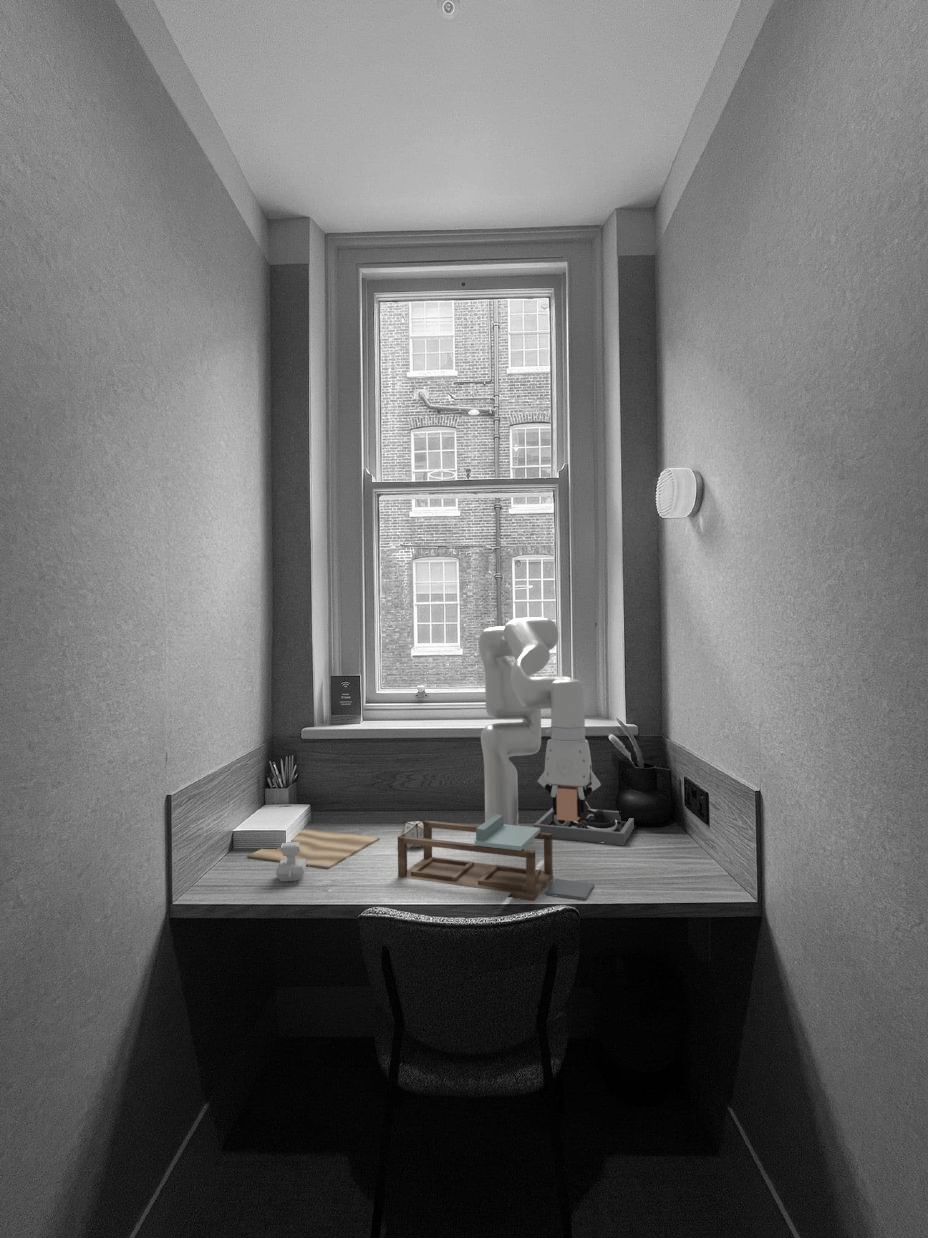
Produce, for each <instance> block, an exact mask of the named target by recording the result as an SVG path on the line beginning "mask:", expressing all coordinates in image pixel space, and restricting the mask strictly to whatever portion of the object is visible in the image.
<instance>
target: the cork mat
mask: <svg viewBox="0 0 928 1238" xmlns="http://www.w3.org/2000/svg"><path fill="white" fill-rule="evenodd" d="M299 831H300V832H299ZM299 831H298V832H299V833H298V835H296V836H295V837H294V838H293V839H292V840H291V842H300V852H299V853H298V855H296V859H306V861H307V865H309V866H308V867H311V866H313V867H312V868H318V867H320V868H319V869H325V868H329V869H331V868H332V867H334V866H336V865H338V864H340V863H341V862H343V861H345V860H347V859H348V858H350V857H352V856H353V855H355V854H357V853H358V851H359V850H360V851H362V850H364V849H365V847H366V848H367V847H369V846H371V845H372V844H374V843H376V842H377V841H380V840H381V839H380V837H377V836H369V835H360V834H352V833H351V834H350V833H343V832H336V831H326V830H317V829H309V828H304V829H302V830H299ZM368 845H369V846H368ZM361 849H362V850H361ZM360 851H359V852H360ZM356 852H357V853H356ZM354 853H355V854H354ZM351 855H352V856H351ZM349 856H350V857H349ZM347 857H348V858H347ZM246 858H247V859H255V860H261V861H268V860H269V862H274V863H275V862H277V863H280V861H281V860H286V859H287V856H283V853H281V848H277V849H263V848H260V849H259V850H257V851H254V852H252V853H251V854H250V853H249V854H247V855H246ZM346 858H347V859H346ZM339 862H340V863H339ZM337 863H338V864H337Z"/></svg>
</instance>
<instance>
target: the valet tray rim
mask: <svg viewBox="0 0 928 1238" xmlns="http://www.w3.org/2000/svg"><path fill="white" fill-rule="evenodd" d="M590 809H591V810H595V811H597V810H598V809H596V808H595V809H594V808H590ZM590 809H589V808H588V810H590ZM602 810H603V811H604V812H605V813H607V814H610V815H612V816H614V817H615V818H616V819H618V820H620V821H621V816H620V814H619V810H607V809H602ZM553 812H554V810H553V806H552V807H551V808H550V809H549V810H548V811H547V812H546V813H545V814H544V815H543V816H541V817H540V818H539V819H538V820H537V821H536V822H535V823H534V824H533V827H536V828H540V832H544V833H552V839H558V840H559V839H560V840H566V841H567V840H569V841H576V840H578V842H588V843H595V842H604V843H610V844H609V845H614V844H623V845H624V844H626V843H627V841H628V840H627V839H629V838H630V836H631V835H632V833H633V831H634V830H635V828H634V818H629V819H628V821H627V822H626V824H625V825H624V827H622V829H621V830H620V831H615V830H614V831H604V830H594V829H584V828H574V827H564V826H555V825H554V824H552V823H553V822H552V821H553V820H552V814H553ZM588 815H594V812H592V813H591V812H588ZM588 815H587V816H588ZM587 819H588V820H587V821H591V820H595V818H594V816H589V817H588V818H587ZM551 822H552V823H551ZM617 822H619V821H617ZM549 824H550V825H549ZM633 829H634V830H633ZM632 830H633V831H632ZM631 832H632V833H631ZM630 834H631V835H630ZM629 835H630V836H629ZM628 837H629V838H628ZM626 840H627V841H626ZM625 842H626V843H625ZM604 843H603V844H604ZM623 845H622V846H623ZM624 846H625V845H624Z"/></svg>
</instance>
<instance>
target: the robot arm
mask: <svg viewBox="0 0 928 1238" xmlns="http://www.w3.org/2000/svg"><path fill="white" fill-rule="evenodd" d="M558 641H559V630H558V626H557V625H556V623H555V622H554V621H553V620H552V619H550V618H548V617H517V618H514V619H511V620H509V621H508V622H507V623H506V624H505V625H503V626H502V625H500V626H491V627H488V628H485V629H483V630H482V631H481V633H480V635H479V641H478V649H479V653H480V654H479V655H480V656H481V657H480V658H481V660H482V661H481V662H482V663H483V664H482V665H483V668H484V682H485V683H484V685H485V686H484V689H485V690H484V691H485V696H484V697H485V710H486V713H487V715H488V716H489V717H490V718H493V719H518V718H520V719H522V721H518V722H497V723H491V724H488V725H486V726H485V727H484V728H483V729H482V730H481V733H480V744H481V749H482V750H481V751H482V754H483V755H482V758H483V768H484V771H483V772H484V823H485V822H486V821H487V820H489V819H490V818H491V817H493V816H494V815H495V814H497V815H503V824H506V825H516V826H519V817H520V815H519V797H518V796H519V791H518V790H519V788H518V787H519V785H518V784H519V781H518V775H519V774H518V771H517V768H516V766H515V765H514V764H513V762H512V761H511V760H510V759H509V758H510V757H517V756H531V755H535V754H537V753H538V752H539V751H540V748H541V745H542V710H543V709H550V721H551V723H550V727H545V731H544V732H545V734H546V735H549V736H550V739H548V740H547V742H546V748H545V757H544V770H543V773H541V775H540V776H539V778H538V779H537V783H539V784H540V785H541V786H542V787H543V788H545V790H546V791H547V792H548V793H549V794H550V796H551V798H552V807H553V810H555V815H557V793H556V788H557V787H559V786H573V787H577V790H578V794H579V799H578V800H577V816H578V817H581V816H582V815H583V813H585V811H586V806H587V804H586V802H587V801H586V800H587V799H586V798H587V797H588V796H589V795H590V794H591V793H592V792H593V791H595V790H598V788H599V787H601V785H602V784H601V782H600V780H599V779H598V778H597V776H596V775H595V773H594V771H593V767H592V766H593V765H592V757H591V751H590V744H589V741H588V740H587V739H586V728H585V726H586V725H585V724H586V723H585V722H586V721H585V719H586V718H585V711H586V710H585V684H584V682H583V681H582V680H580V679H574V678H572V677H569V676H566V675H565V676H564V675H563V676H562V675H561V676H560V675H559V676H551V675H550V676H533V675H534V674H536V673H538V672H540V671H542V670H543V669H544V668H545V667H546V666H547V664H548V663H549V661H550V657H551V653H550V650H552V649H554V648H555V647H556V646H557V644H558ZM508 657H514V659H515V661H514V663H513V664H512V662H511V661H510V659H509V658H508ZM589 783H591V785H589ZM588 785H589V786H588ZM586 786H587V788H586Z"/></svg>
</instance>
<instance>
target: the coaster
mask: <svg viewBox="0 0 928 1238" xmlns="http://www.w3.org/2000/svg"><path fill="white" fill-rule="evenodd" d="M594 887H595V883H593V882H586V881H578V880H577V881H576V880H571V879H563V878H554V880H553V881H552V883H551V884H550V885H549V887H548V888H547V889H546V890H545V891H544V892H545V894H546V896H551V895H557V896H556V897H558V896H561V897H560V898H566V897H568V898H567V899H573V898H575V900H582V901H586V900H587V898H588V897H589V895H590V893H591V892H592V890H593V889H594ZM592 888H593V889H592Z"/></svg>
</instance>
